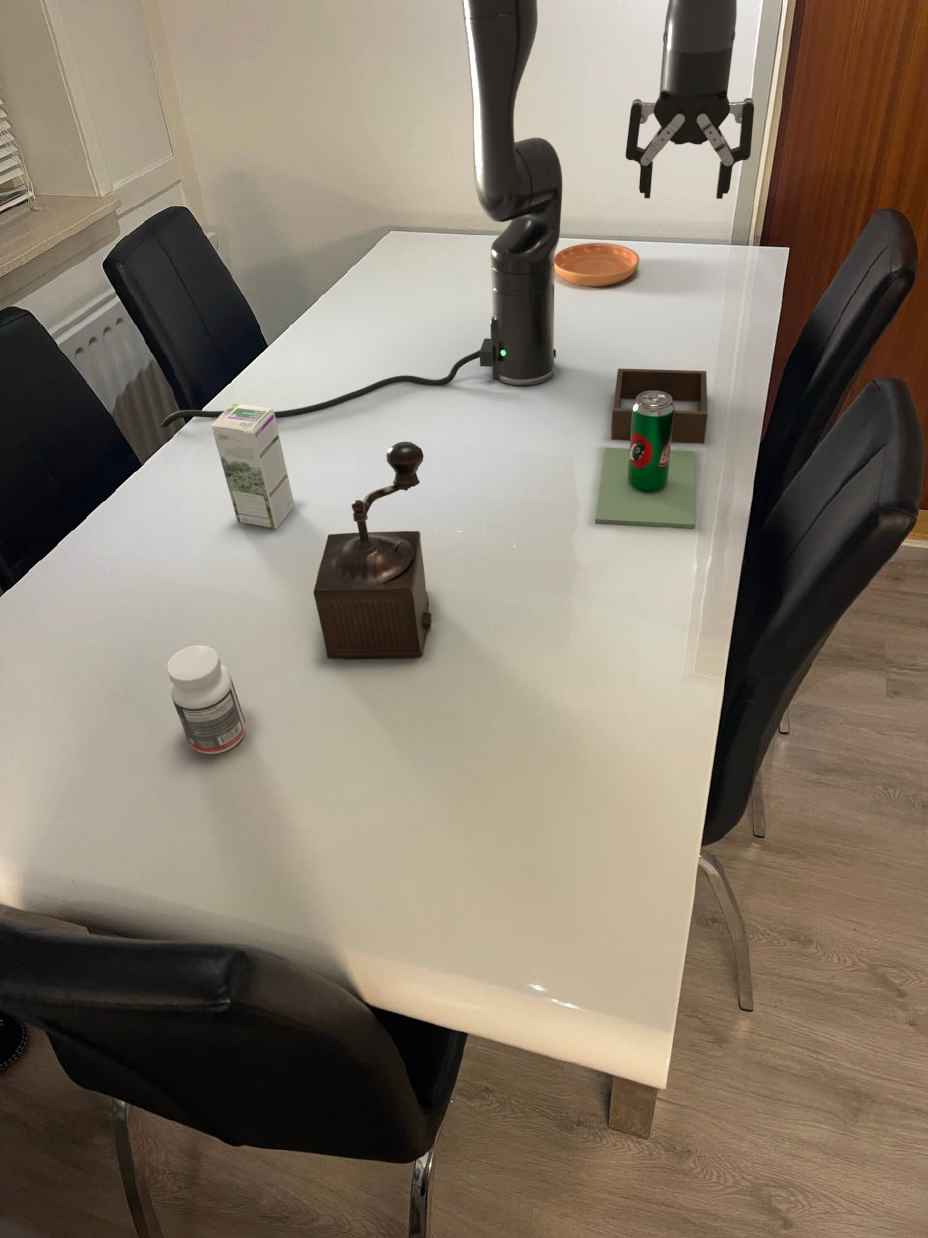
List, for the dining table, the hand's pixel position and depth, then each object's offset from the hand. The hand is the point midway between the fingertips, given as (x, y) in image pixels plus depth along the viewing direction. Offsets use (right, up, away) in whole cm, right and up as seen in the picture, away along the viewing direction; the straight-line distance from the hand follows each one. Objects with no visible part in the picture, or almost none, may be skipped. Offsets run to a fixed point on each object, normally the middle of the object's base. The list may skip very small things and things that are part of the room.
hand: (682, 196), depth 113 cm
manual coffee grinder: (-35, -50, -8) cm, 62 cm away
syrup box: (-52, -38, +8) cm, 65 cm away
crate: (+1, -22, +21) cm, 31 cm away
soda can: (-3, -34, +7) cm, 35 cm away
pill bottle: (-51, -63, -21) cm, 83 cm away
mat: (-3, -34, +7) cm, 35 cm away
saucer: (-2, +14, +63) cm, 64 cm away
